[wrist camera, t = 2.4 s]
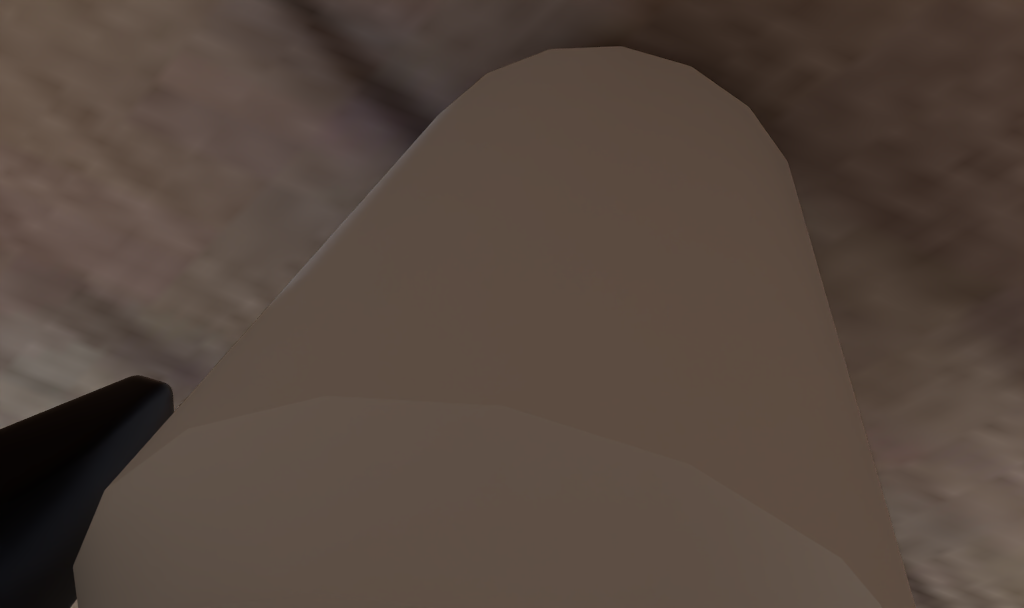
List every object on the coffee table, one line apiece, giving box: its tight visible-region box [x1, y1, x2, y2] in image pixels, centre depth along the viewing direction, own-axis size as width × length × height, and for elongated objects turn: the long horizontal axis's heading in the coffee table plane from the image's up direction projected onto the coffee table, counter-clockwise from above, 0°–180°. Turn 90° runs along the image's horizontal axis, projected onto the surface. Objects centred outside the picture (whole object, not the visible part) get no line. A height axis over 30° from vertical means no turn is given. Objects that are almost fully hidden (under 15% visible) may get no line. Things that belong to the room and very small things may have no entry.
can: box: [73, 46, 916, 608], centre depth 10 cm, size 8×8×12 cm
